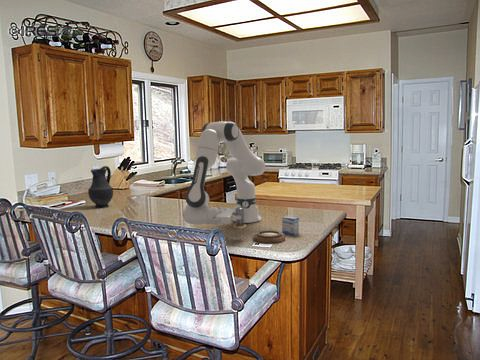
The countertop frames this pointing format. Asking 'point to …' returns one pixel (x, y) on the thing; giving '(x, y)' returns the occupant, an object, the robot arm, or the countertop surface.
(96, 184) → the pitcher
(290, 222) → the medicine box
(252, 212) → the robot arm
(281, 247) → the countertop surface
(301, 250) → the countertop surface
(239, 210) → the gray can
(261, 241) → the ring
